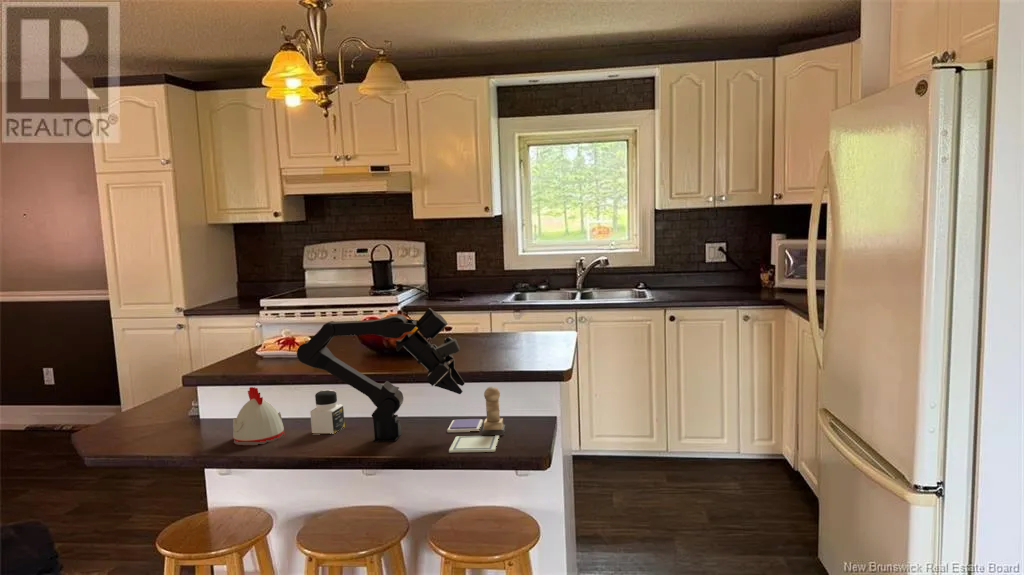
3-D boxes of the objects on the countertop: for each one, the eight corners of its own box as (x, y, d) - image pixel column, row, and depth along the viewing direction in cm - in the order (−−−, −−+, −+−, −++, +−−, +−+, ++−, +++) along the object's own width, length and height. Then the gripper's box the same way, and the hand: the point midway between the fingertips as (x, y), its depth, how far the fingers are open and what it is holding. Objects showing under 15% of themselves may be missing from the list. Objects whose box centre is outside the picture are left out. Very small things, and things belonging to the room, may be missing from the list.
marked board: (448, 452, 168) (448, 449, 168) (456, 438, 179) (456, 436, 179) (494, 451, 167) (494, 449, 167) (499, 437, 178) (499, 435, 178)
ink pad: (447, 432, 185) (447, 428, 185) (453, 422, 194) (452, 418, 194) (478, 431, 184) (478, 427, 184) (482, 422, 193) (482, 418, 193)
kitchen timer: (272, 427, 199) (267, 379, 197) (292, 436, 189) (288, 386, 187) (225, 439, 189) (221, 389, 188) (245, 449, 179) (240, 396, 178)
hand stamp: (482, 435, 180) (479, 389, 179) (484, 430, 185) (482, 384, 184) (503, 435, 180) (501, 388, 179) (505, 429, 185) (503, 384, 184)
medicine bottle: (334, 435, 188) (330, 394, 187) (311, 434, 189) (308, 394, 188) (345, 427, 195) (342, 388, 194) (323, 427, 196) (320, 388, 195)
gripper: (438, 335, 170) (481, 376, 171) (445, 324, 189) (483, 361, 190) (409, 365, 171) (452, 405, 172) (418, 351, 189) (457, 388, 191)
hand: (462, 388), depth 181 cm, fingers open, 9 cm apart
